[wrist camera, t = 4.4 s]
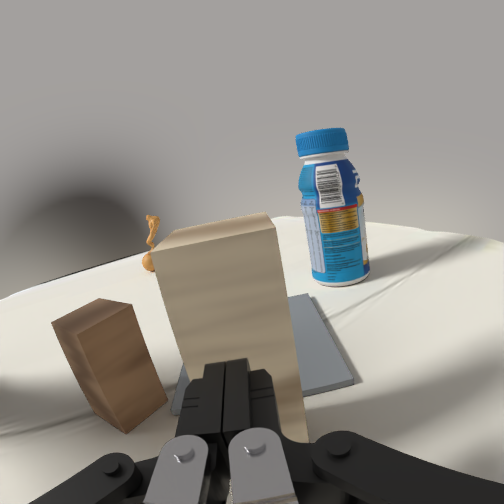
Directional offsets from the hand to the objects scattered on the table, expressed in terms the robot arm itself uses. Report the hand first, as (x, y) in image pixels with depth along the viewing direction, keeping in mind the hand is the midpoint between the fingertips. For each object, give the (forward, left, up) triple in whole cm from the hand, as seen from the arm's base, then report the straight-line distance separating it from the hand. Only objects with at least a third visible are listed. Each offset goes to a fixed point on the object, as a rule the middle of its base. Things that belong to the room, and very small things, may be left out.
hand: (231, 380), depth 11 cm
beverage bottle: (-18, +29, -10) cm, 36 cm away
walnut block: (-15, -3, -9) cm, 18 cm away
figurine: (-57, +17, -10) cm, 60 cm away
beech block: (-4, +3, -9) cm, 11 cm away
